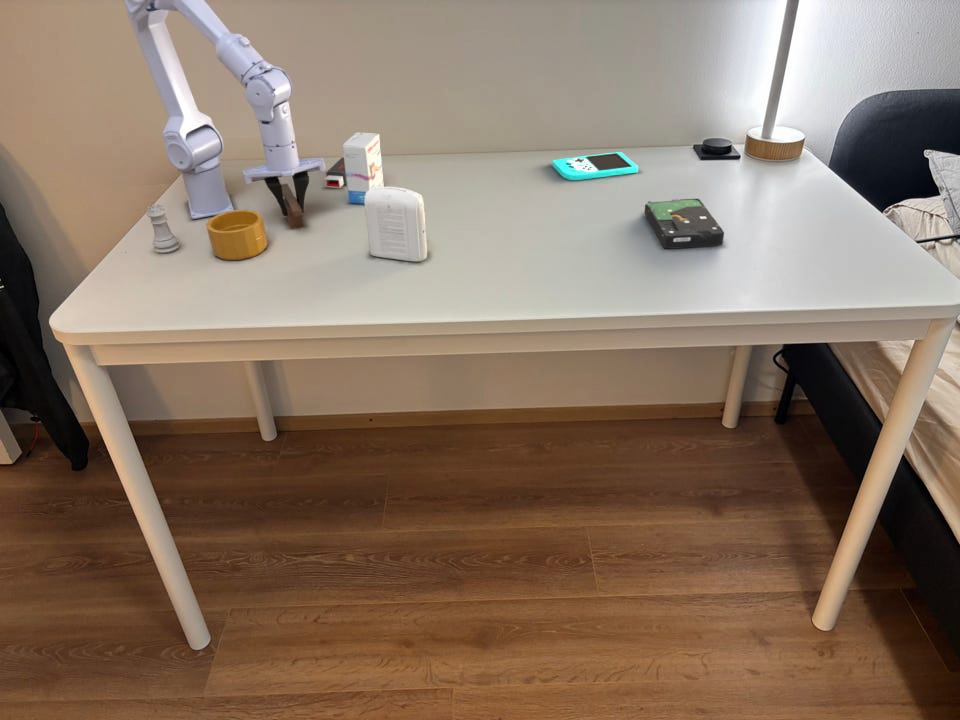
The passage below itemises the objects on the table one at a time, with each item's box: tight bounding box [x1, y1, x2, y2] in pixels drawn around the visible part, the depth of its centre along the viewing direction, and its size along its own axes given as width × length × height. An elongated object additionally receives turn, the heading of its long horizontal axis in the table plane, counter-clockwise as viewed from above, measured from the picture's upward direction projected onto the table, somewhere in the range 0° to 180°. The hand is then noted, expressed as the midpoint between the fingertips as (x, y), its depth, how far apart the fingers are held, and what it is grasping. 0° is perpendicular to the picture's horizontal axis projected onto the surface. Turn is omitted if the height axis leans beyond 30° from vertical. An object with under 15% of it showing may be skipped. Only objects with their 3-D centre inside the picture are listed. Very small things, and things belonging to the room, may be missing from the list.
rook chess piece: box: [146, 204, 181, 255], centre depth 131 cm, size 4×4×8 cm
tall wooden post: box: [280, 183, 305, 230], centre depth 140 cm, size 14×2×5 cm, turn 22°
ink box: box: [342, 131, 385, 205], centre depth 147 cm, size 9×5×12 cm, turn 168°
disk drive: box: [644, 198, 725, 249], centre depth 132 cm, size 10×3×15 cm
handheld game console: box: [551, 151, 639, 181], centre depth 158 cm, size 10×16×1 cm, turn 104°
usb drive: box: [324, 157, 347, 189], centre depth 158 cm, size 5×12×3 cm, turn 167°
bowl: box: [205, 209, 269, 261], centre depth 131 cm, size 9×9×6 cm
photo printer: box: [363, 186, 428, 263], centre depth 125 cm, size 10×4×12 cm, turn 72°
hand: (292, 212), depth 140 cm, fingers closed on tall wooden post, 2 cm apart
